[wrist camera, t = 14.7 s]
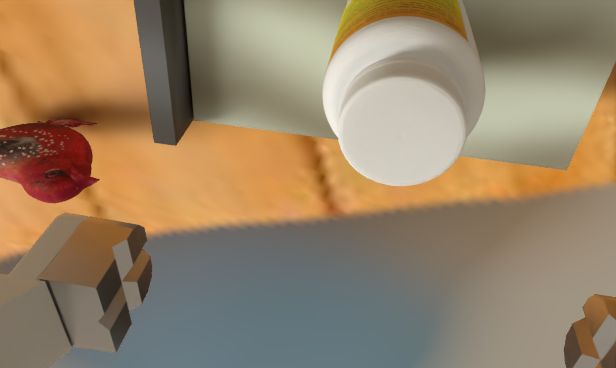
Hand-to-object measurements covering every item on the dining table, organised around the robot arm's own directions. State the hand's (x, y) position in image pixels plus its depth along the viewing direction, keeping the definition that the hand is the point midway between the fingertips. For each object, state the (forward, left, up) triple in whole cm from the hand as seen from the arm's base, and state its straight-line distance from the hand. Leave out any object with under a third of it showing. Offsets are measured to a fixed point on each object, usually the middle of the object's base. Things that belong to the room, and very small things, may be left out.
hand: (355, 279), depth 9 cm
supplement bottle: (+1, +1, -18) cm, 18 cm away
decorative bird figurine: (+15, -26, -26) cm, 40 cm away
